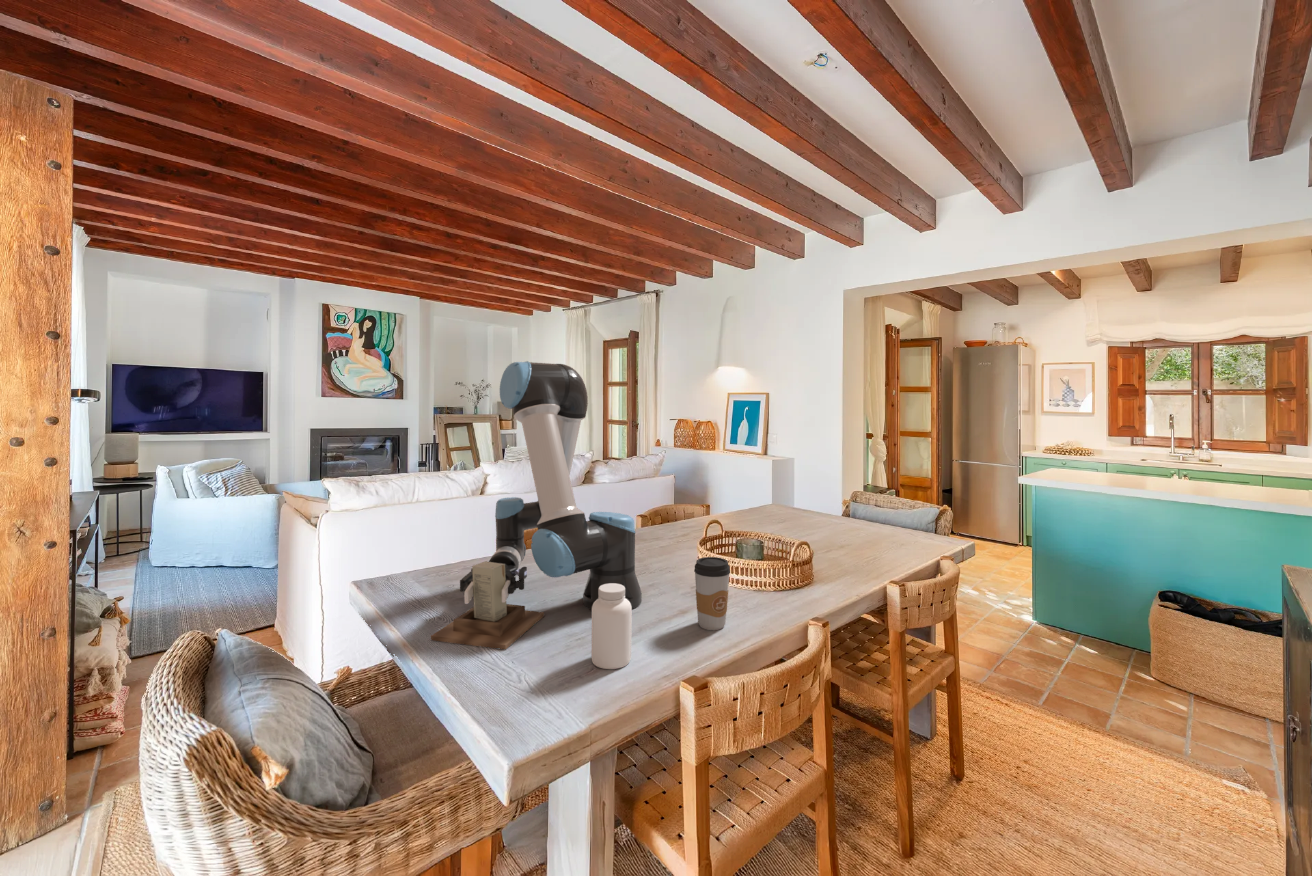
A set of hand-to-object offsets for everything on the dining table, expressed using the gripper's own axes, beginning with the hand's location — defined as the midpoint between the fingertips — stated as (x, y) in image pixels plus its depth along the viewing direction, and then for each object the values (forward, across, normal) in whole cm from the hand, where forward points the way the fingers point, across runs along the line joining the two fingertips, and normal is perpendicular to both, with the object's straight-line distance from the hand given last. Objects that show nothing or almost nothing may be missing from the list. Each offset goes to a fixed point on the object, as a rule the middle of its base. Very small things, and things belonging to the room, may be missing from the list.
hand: (485, 596), depth 116 cm
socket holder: (-5, 0, -9) cm, 10 cm away
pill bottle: (+14, -27, -9) cm, 32 cm away
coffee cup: (-1, -51, -9) cm, 52 cm away
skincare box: (-5, 0, -7) cm, 8 cm away
